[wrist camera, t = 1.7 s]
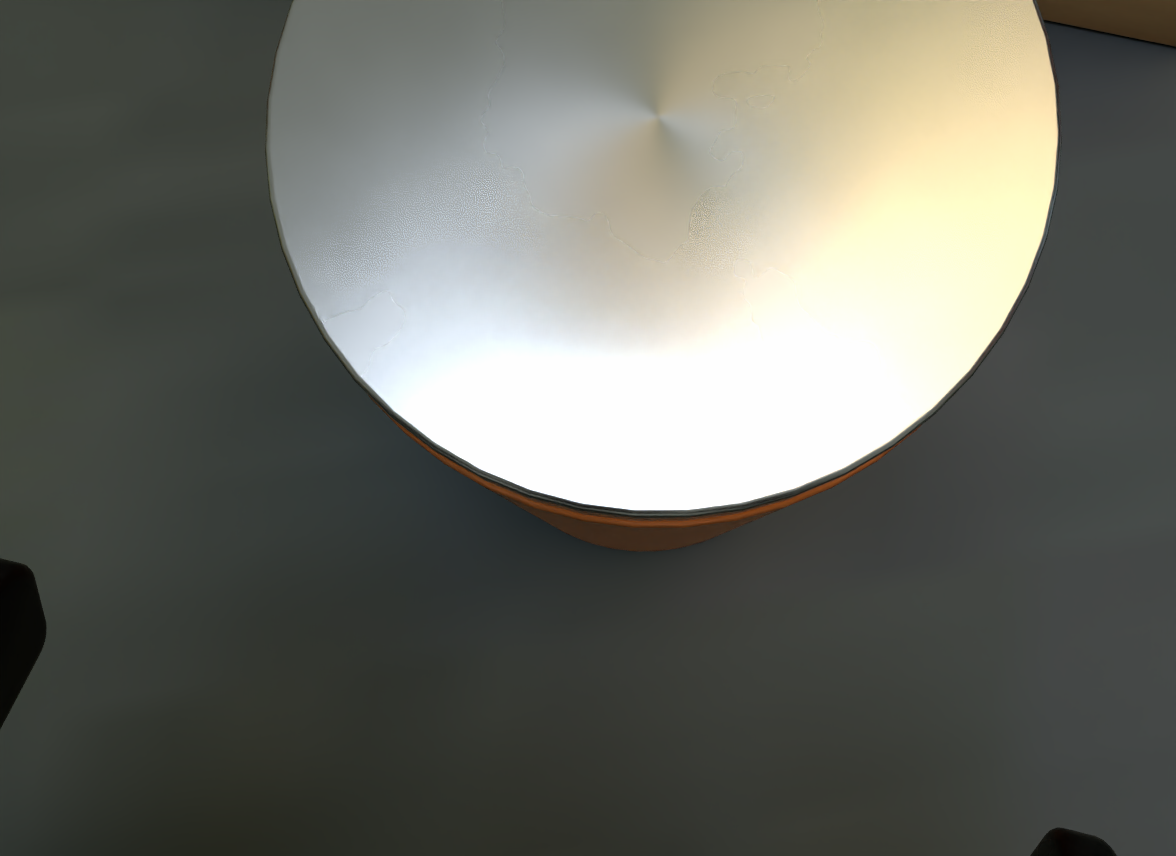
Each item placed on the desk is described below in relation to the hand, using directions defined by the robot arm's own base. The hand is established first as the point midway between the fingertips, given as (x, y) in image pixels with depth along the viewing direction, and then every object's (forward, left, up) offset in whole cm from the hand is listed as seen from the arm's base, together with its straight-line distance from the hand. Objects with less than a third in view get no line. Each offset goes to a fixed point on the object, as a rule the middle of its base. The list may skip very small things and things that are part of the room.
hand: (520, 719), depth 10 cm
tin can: (+5, -1, -11) cm, 13 cm away
